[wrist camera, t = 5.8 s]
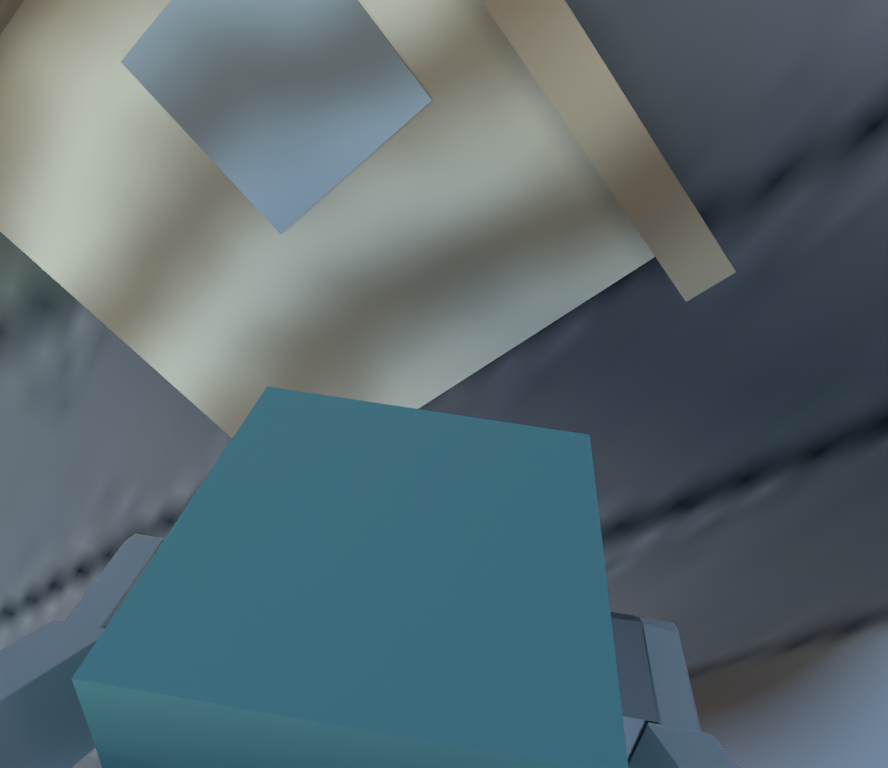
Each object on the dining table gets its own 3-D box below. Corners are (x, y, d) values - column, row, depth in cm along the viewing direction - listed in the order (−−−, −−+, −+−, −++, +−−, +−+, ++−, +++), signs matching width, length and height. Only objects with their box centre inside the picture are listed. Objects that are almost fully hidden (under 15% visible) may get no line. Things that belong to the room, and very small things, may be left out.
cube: (589, 434, 10) (629, 777, 6) (533, 642, 12) (532, 981, 8) (266, 386, 10) (71, 678, 6) (279, 600, 13) (151, 907, 8)
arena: (695, 217, 22) (736, 271, 18) (297, 476, 30) (260, 556, 26) (270, -453, 15) (173, -623, 11) (-101, 115, 23) (-241, 144, 19)
